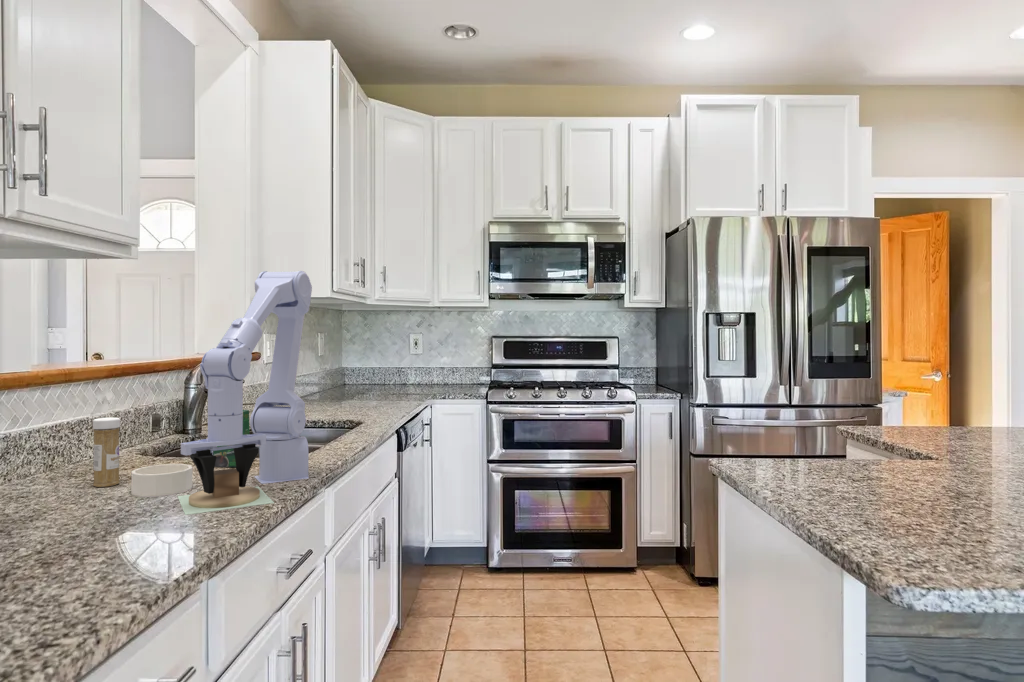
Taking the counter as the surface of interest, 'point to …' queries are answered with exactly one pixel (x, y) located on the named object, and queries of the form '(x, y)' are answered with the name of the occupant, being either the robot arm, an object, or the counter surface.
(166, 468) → the cream bowl
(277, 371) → the robot arm
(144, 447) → the counter surface
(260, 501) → the sage mat
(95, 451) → the sprinkles bottle
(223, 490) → the oak lid
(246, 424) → the coffee box
